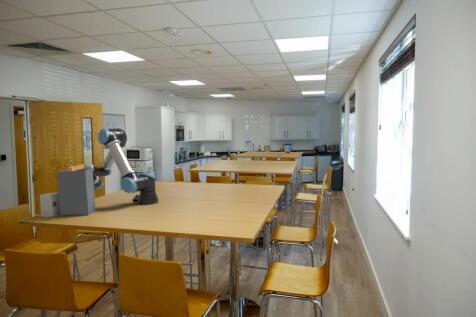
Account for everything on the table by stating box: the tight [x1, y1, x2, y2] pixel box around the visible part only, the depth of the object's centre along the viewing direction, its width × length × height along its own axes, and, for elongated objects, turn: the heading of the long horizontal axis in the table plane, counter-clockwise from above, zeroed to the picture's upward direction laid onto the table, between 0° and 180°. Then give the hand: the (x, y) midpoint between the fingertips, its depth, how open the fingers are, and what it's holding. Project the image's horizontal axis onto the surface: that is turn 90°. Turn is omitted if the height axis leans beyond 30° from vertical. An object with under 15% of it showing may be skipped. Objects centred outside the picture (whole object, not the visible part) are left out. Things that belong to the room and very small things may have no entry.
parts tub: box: [56, 168, 96, 218], centre depth 224 cm, size 18×13×30 cm
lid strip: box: [66, 163, 87, 172], centre depth 226 cm, size 3×24×3 cm, turn 4°
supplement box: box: [39, 192, 61, 218], centre depth 222 cm, size 9×9×15 cm
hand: (81, 166), depth 233 cm, fingers open, 13 cm apart
